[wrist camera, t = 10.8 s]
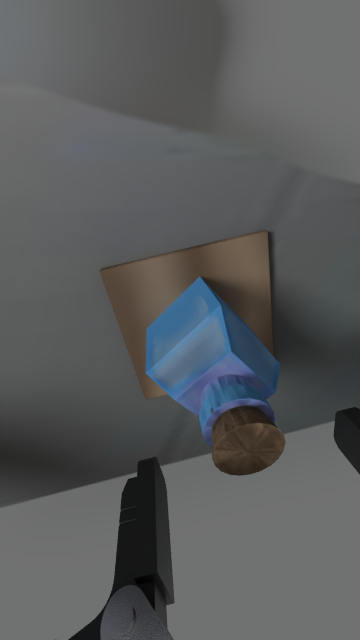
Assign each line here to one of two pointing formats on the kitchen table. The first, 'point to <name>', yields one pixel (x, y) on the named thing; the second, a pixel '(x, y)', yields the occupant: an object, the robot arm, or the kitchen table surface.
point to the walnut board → (176, 276)
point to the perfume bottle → (218, 378)
